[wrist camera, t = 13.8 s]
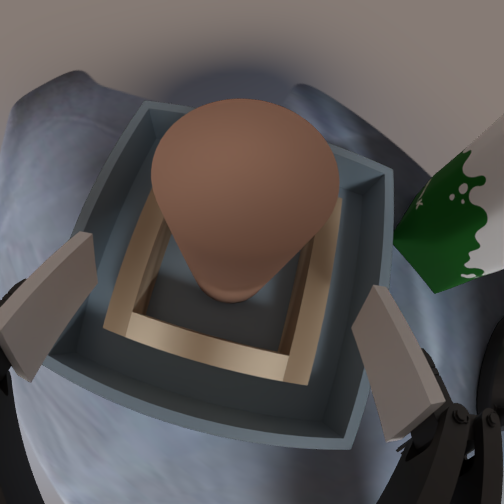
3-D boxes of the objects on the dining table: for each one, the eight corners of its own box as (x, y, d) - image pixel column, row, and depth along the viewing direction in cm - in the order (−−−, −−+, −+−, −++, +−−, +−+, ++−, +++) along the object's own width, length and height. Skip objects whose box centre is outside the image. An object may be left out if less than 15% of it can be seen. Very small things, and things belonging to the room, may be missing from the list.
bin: (367, 195, 22) (393, 169, 18) (324, 428, 16) (351, 449, 12) (153, 135, 21) (144, 100, 17) (70, 357, 16) (37, 361, 11)
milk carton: (435, 307, 20) (628, 244, 1) (374, 237, 21) (569, 84, 2) (462, 245, 23) (602, 165, 4) (412, 183, 24) (541, 59, 5)
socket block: (326, 215, 20) (342, 198, 17) (293, 377, 17) (307, 385, 14) (175, 173, 20) (169, 150, 17) (120, 328, 16) (102, 327, 13)
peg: (275, 243, 19) (347, 129, 8) (255, 312, 18) (321, 283, 6) (207, 221, 19) (196, 85, 7) (183, 289, 17) (119, 219, 6)
